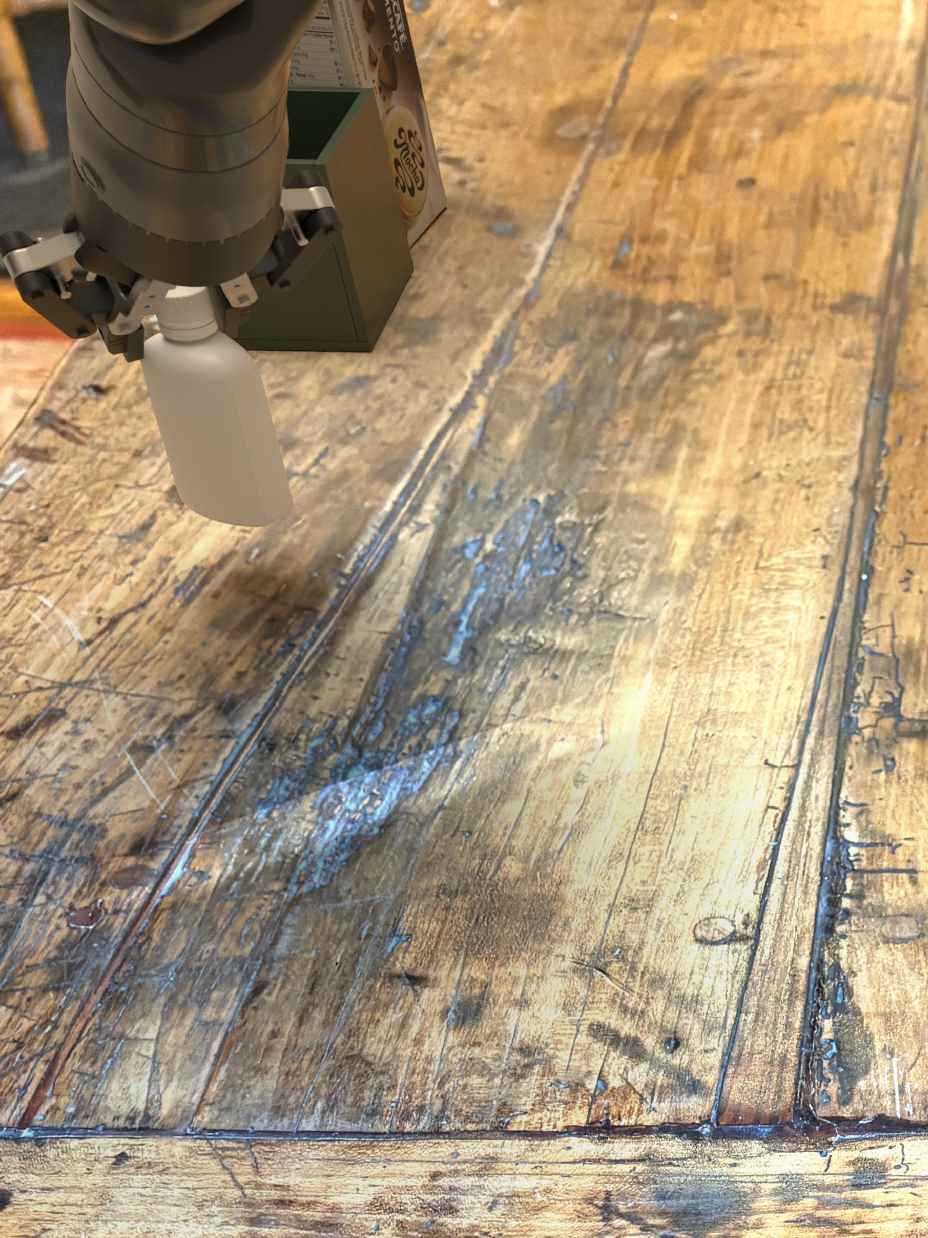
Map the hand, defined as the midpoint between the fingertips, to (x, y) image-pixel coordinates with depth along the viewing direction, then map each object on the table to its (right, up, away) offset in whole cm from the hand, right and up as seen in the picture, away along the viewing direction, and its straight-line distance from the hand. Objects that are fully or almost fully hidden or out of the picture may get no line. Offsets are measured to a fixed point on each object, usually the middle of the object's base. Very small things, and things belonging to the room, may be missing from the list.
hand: (172, 329), depth 90 cm
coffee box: (-4, +20, +36) cm, 41 cm away
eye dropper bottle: (+1, -7, +5) cm, 8 cm away
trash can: (-6, +12, +28) cm, 31 cm away
